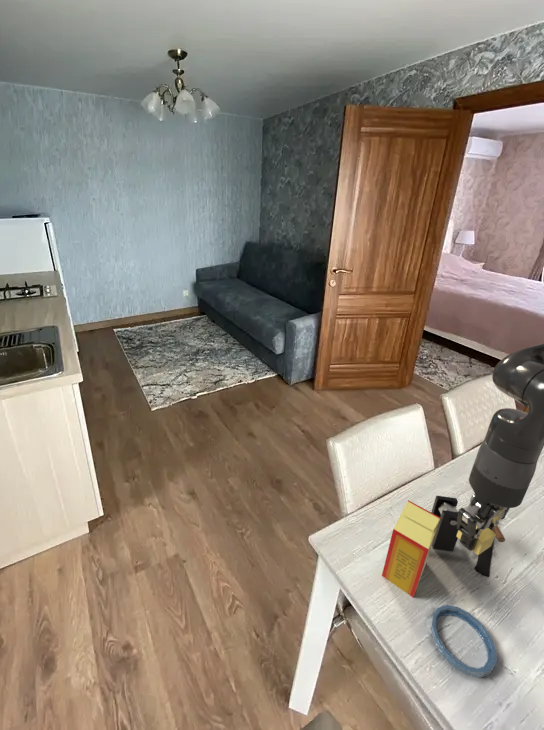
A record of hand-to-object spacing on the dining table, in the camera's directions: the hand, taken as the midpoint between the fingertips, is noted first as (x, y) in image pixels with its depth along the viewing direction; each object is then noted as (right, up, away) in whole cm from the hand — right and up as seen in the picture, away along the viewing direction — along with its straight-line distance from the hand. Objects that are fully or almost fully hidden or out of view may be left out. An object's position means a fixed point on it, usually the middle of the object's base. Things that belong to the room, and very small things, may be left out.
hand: (474, 540), depth 63 cm
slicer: (+5, -13, +20) cm, 24 cm away
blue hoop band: (-2, -21, +1) cm, 21 cm away
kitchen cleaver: (+18, -11, +25) cm, 33 cm away
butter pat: (0, 0, 0) cm, 0 cm away
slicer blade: (+9, -6, +16) cm, 19 cm away
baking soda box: (-7, -16, +13) cm, 22 cm away
